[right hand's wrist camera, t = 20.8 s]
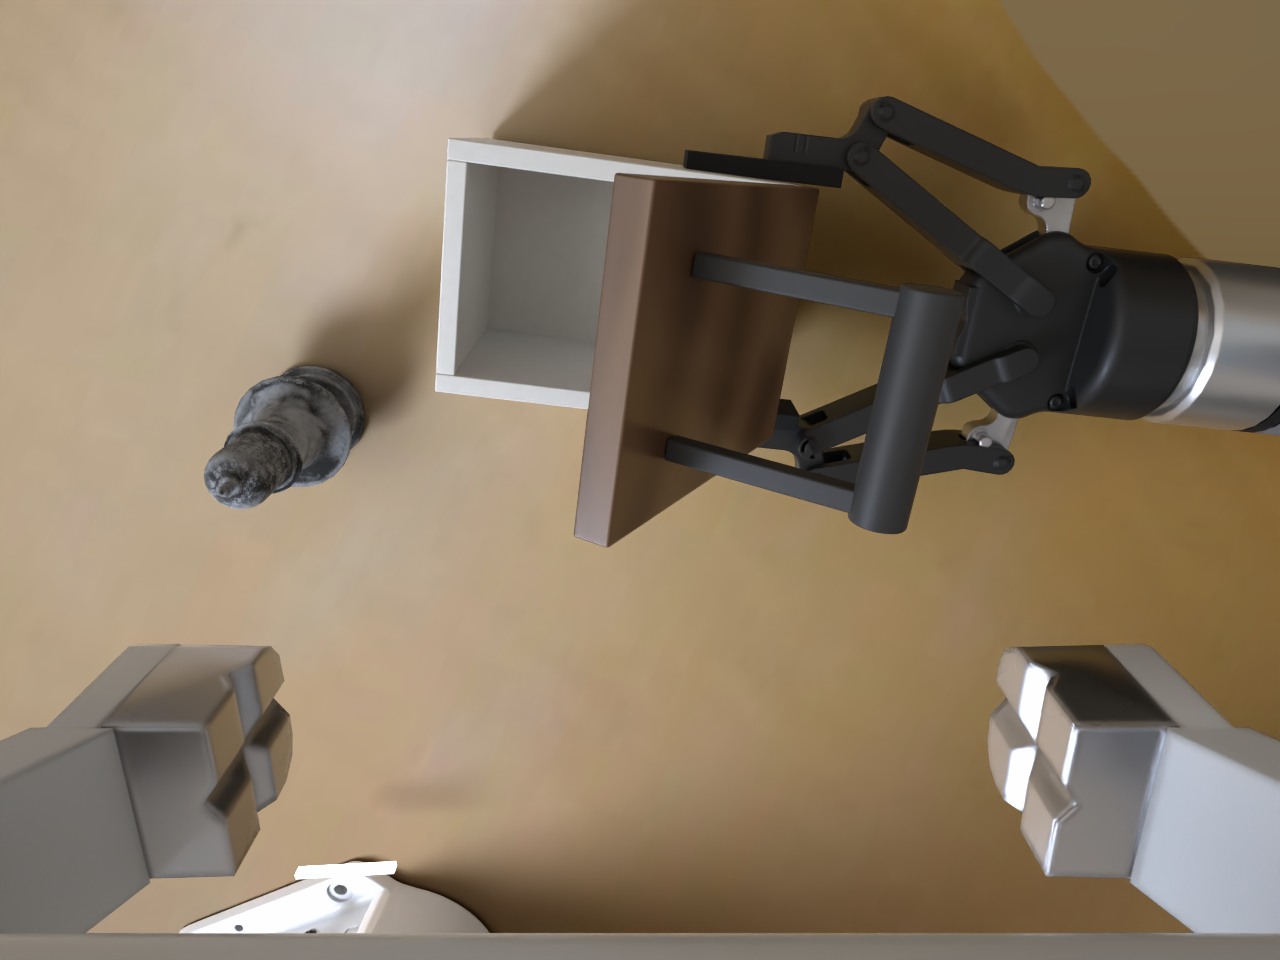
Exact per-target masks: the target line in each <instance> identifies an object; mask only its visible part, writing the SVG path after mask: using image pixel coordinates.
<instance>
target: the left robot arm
mask: <svg viewBox="0 0 1280 960" xmlns="http://www.w3.org/2000/svg"><path fill="white" fill-rule="evenodd" d="M886 137H887V138H890V139H892V140H894V141H896V142H898V143H900V144H903V145H905V146H907V147H909V148H911V149H913V150H915V151H918V152H920V153H922V154H924V155H926V156H928V157H931V158H933V159H935V160H937V161H939V162H941V163H943V164H946V165H948V166H950V167H952V168H954V169H956V170H959V171H961V172H963V173H965V174H967V175H969V176H971V177H974V178H976V179H978V180H980V181H982V182H984V183H987V184H989V185H991V186H993V187H996V188H998V189H1001V190H1004V191H1008V192H1012V193H1018V194H1020V198H1019V205H1020V208H1021V210H1022V211H1023V212H1025V213H1027V214H1030V215H1032V216H1034V217H1035V218H1036V220H1037V222H1038V230H1037V231H1035V232H1033V233H1031V234H1029V235H1027V236H1025V237H1023V238H1022V239H1020V240H1018V241H1016V242H1014V243H1012V244H1011V245H1009V246H1007V247H1005V248H1003V249H1001V250H999V249H998V248H997V247H996V246H994V245H993V244H992V243H991V242H989V241H988V240H986V239H985V238H983V237H981V236H980V235H979V234H977V233H976V232H975V231H974V230H973V229H971V228H970V227H969V226H968V225H967V224H965V223H964V222H963V221H962V220H961V219H959V218H958V217H957V216H956V215H955V214H954V213H952V212H951V211H950V210H949V209H948V208H946V207H945V206H944V205H943V204H942V203H940V202H939V201H938V200H937V199H936V198H934V197H933V196H932V195H931V194H930V193H929V192H927V191H926V190H925V189H924V188H923V187H921V186H920V185H919V184H918V183H917V182H915V181H914V180H913V179H912V178H911V177H909V176H908V175H907V174H906V173H905V172H904V171H902V170H901V169H900V168H899V167H898V166H896V165H895V164H894V163H893V162H892V161H890V160H889V159H888V158H887V157H886V156H884V155H883V154H882V153H881V152H880V151H879V149H880V147H881V145H882V143H883V142H884V140H885V138H886ZM683 167H684V168H686V169H691V170H699V171H706V172H713V173H721V174H728V175H735V176H743V177H751V178H760V179H768V180H777V181H785V182H794V183H802V184H811V185H819V186H828V187H836V188H841V183H842V178H843V172H844V171H845V172H846V173H848V174H849V175H850V176H851V177H852V178H854V179H855V180H856V181H857V182H858V183H860V184H861V185H862V186H863V187H864V188H866V189H867V190H868V191H869V192H871V193H872V194H873V195H874V196H875V197H877V198H878V199H879V200H880V201H881V202H883V203H884V204H885V205H886V206H888V207H889V208H890V209H891V210H892V211H894V212H895V213H896V214H897V215H898V216H900V217H901V218H902V219H903V220H905V221H906V222H907V223H908V224H909V225H911V226H912V227H913V228H914V229H915V230H917V231H918V232H919V233H920V234H921V235H923V236H924V237H925V238H926V239H928V240H929V241H930V242H931V243H932V244H934V245H935V246H936V247H937V248H938V249H940V250H941V251H942V252H943V253H944V255H945V256H946V257H948V258H949V259H950V260H951V261H952V262H954V263H955V264H956V265H957V266H958V267H960V268H961V269H962V270H963V271H965V273H964V274H963V276H962V277H961V279H960V280H955V284H954V288H953V290H955V291H958V292H961V293H963V294H964V295H965V299H964V303H963V307H962V311H961V315H960V319H959V323H958V327H957V331H956V335H955V339H954V343H953V347H952V351H951V355H950V359H949V363H948V367H947V371H946V375H945V379H944V383H943V387H942V390H941V394H940V398H939V402H938V404H941V403H953V402H956V401H958V400H961V399H963V398H966V397H968V396H971V395H973V394H976V393H977V394H978V395H979V396H980V397H981V398H982V399H983V400H984V401H985V402H986V403H987V404H988V405H989V406H990V407H991V408H992V409H991V411H990V413H989V414H988V416H986V417H985V418H984V419H981V420H973V421H970V422H967V423H966V424H964V426H963V429H962V430H938V431H931V434H930V438H929V442H928V446H927V450H926V454H925V458H924V462H923V466H922V470H921V474H920V476H922V475H928V474H934V473H940V472H946V471H952V470H959V469H968V470H974V471H980V472H986V473H992V474H1005V473H1007V472H1009V471H1010V470H1011V469H1012V467H1013V465H1014V457H1013V455H1012V454H1011V453H1010V452H1009V451H1008V448H1009V445H1010V442H1011V439H1012V436H1013V433H1014V430H1015V427H1016V424H1017V421H1018V418H1023V417H1026V416H1028V415H1031V414H1034V413H1038V412H1044V411H1048V412H1058V413H1067V414H1076V415H1085V416H1095V417H1104V418H1113V419H1123V420H1135V419H1140V418H1142V419H1143V420H1145V421H1147V422H1152V423H1160V424H1170V425H1180V426H1190V427H1201V428H1211V429H1221V430H1232V431H1242V432H1253V433H1254V432H1255V433H1263V434H1270V435H1278V436H1280V268H1276V267H1268V266H1259V265H1251V264H1242V263H1234V262H1225V261H1217V260H1209V259H1200V258H1181V259H1178V260H1177V259H1175V258H1174V257H1172V256H1169V255H1165V254H1156V253H1148V252H1139V251H1131V250H1122V249H1114V248H1105V247H1096V246H1088V245H1084V244H1082V243H1080V242H1079V241H1077V240H1076V239H1075V238H1074V237H1073V236H1071V235H1070V234H1069V229H1070V224H1071V219H1072V214H1073V209H1074V205H1075V200H1076V198H1079V197H1081V196H1083V195H1084V194H1085V193H1086V192H1087V191H1088V190H1089V187H1090V185H1091V178H1090V175H1089V173H1088V172H1087V171H1085V170H1084V169H1080V168H1067V167H1053V166H1038V165H1036V164H1033V163H1031V162H1029V161H1027V160H1025V159H1023V158H1021V157H1019V156H1016V155H1014V154H1012V153H1010V152H1008V151H1006V150H1004V149H1002V148H999V147H997V146H995V145H993V144H991V143H989V142H987V141H985V140H983V139H980V138H978V137H976V136H974V135H972V134H970V133H968V132H966V131H963V130H961V129H959V128H957V127H955V126H953V125H951V124H949V123H946V122H944V121H942V120H940V119H938V118H936V117H934V116H932V115H930V114H927V113H925V112H923V111H921V110H919V109H917V108H915V107H913V106H910V105H908V104H906V103H904V102H902V101H900V100H898V99H896V98H893V97H889V96H886V97H880V98H874V99H869V100H867V101H866V102H864V103H863V104H862V106H861V107H860V109H859V113H858V117H857V119H856V121H855V122H854V124H853V126H852V128H851V129H850V131H849V132H848V133H847V134H846V135H844V136H843V137H840V138H830V137H822V136H813V135H805V134H797V133H788V132H778V133H774V134H771V135H767V137H766V144H765V150H764V157H763V159H759V158H750V157H742V156H733V155H725V154H717V153H708V152H700V151H691V150H685V156H684V164H683ZM877 385H878V384H875V385H873V386H870V387H868V388H866V389H863V390H861V391H858V392H856V393H853V394H851V395H849V396H846V397H844V398H841V399H839V400H836V401H834V402H832V403H829V404H827V405H824V406H822V407H819V408H817V409H815V410H812V411H810V412H807V413H805V414H803V415H800V416H799V414H798V412H797V410H796V409H795V407H794V405H793V403H792V402H791V400H786V399H780V400H779V406H778V411H777V416H776V422H775V427H774V432H773V437H772V438H771V439H769V440H768V441H766V442H765V443H763V444H762V445H760V446H759V448H769V449H779V450H786V451H789V452H791V453H793V454H794V459H795V467H796V468H799V469H803V470H807V471H810V472H814V473H818V474H821V475H825V476H829V477H832V478H836V479H840V480H843V481H847V482H851V483H854V484H855V482H856V477H857V473H858V468H859V464H860V460H861V455H862V451H863V446H864V443H859V444H853V445H847V446H841V447H835V448H831V447H834V446H836V445H839V444H841V443H844V442H846V441H849V440H851V439H854V438H856V437H859V436H861V435H863V434H866V433H867V429H868V424H869V420H870V416H871V411H872V407H873V402H874V398H875V394H876V389H877Z"/></svg>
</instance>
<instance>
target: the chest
mask: <svg viewBox="0 0 1280 960" xmlns="http://www.w3.org/2000/svg"><path fill="white" fill-rule="evenodd" d="M447 159H448V160H447V171H446V191H445V210H444V229H443V248H442V267H441V287H440V306H439V325H438V344H437V363H436V373H437V374H436V382H435V391H437V392H446V393H454V394H462V395H471V396H479V397H488V398H496V399H505V400H513V401H522V402H530V403H538V404H547V405H555V406H564V407H572V408H581V409H588V405H589V396H590V387H591V379H592V370H593V361H594V352H595V343H596V334H597V326H598V317H599V308H600V299H601V290H602V282H603V273H604V264H605V255H606V246H607V238H608V229H609V220H610V211H611V202H612V194H613V185H614V176H615V174H616V173H629V174H643V175H657V176H671V177H685V178H700V179H714V180H728V181H742V182H756V183H770V184H784V185H795V184H791V183H787V182H783V181H777V180H768V179H760V178H751V177H743V176H735V175H728V174H721V173H713V172H706V171H699V170H691V169H686V168H684V167H683V165H679V164H671V163H664V162H657V161H650V160H642V159H635V158H628V157H620V156H613V155H606V154H598V153H591V152H584V151H577V150H569V149H562V148H555V147H547V146H540V145H533V144H525V143H518V142H511V141H504V140H496V139H489V138H449V139H448V152H447ZM795 186H799V185H795Z"/></svg>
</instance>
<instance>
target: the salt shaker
mask: <svg viewBox="0 0 1280 960" xmlns="http://www.w3.org/2000/svg"><path fill="white" fill-rule="evenodd" d="M364 422H365V416H364V407H363V404H362V402H361V399H360V397H359V395H358V393H357V392H356V390H355V389H354V388H353V386H352V385H351V384H350V383H349V382H348V381H347V380H346V379H344V378H343V377H342V376H341V375H339V374H337V373H335V372H333V371H331V370H330V369H326V368H322V367H318V366H301V367H298V368H294V369H291V370H289V371H288V372H286V373H284V374H283V375H281V376H277V377H273V378H270V379H266V380H263V381H261V382H260V383H258V384H256V385H255V386H253V387H252V388H250V389H249V390H248V391H247V393H246V394H245V395H244V396H243V397H242V398H241V400H240V402H239V405H238V407H237V409H236V412H235V419H234V430H233V431H232V432H231V433H230V434H229V435H228V437H227V440H226V442H225V444H224V448H222V449H221V450H220V451H218V452H217V453H216V454H214V455H213V456H212V458H211V459H210V460H209V461H208V463H207V466H206V468H205V472H204V479H205V484H206V487H207V489H208V491H209V492H210V493H211V495H212V496H213V497H214V498H215V499H216V500H217V501H219V502H220V503H221V504H223V505H226V506H228V507H230V508H235V509H247V508H251V507H255V506H257V505H259V504H260V503H262V502H263V501H264V500H265V499H266V498H267V497H269V496H270V495H271V494H272V493H277V492H281V491H284V490H286V489H287V488H289V487H309V486H313V485H317V484H320V483H323V482H324V481H326V480H328V479H330V478H331V477H333V476H334V475H335V474H336V473H337V472H338V471H339V470H340V469H341V468H342V466H343V465H344V463H345V461H346V459H347V457H348V455H349V453H350V449H351V448H352V447H353V446H354V445H355V444H356V443H357V442H358V440H359V438H360V436H361V434H362V432H363V428H364Z"/></svg>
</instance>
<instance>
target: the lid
mask: <svg viewBox="0 0 1280 960" xmlns="http://www.w3.org/2000/svg"><path fill="white" fill-rule="evenodd" d="M818 194H819V190H818V189H815V188H809V187H802V186H795V185H784V184H770V183H756V182H742V181H728V180H714V179H700V178H685V177H671V176H657V175H643V174H629V173H616V174H615V176H614V185H613V194H612V202H611V211H610V220H609V229H608V238H607V246H606V255H605V264H604V273H603V282H602V290H601V299H600V308H599V317H598V326H597V334H596V343H595V352H594V361H593V370H592V379H591V387H590V396H589V405H588V414H587V423H586V431H585V440H584V449H583V458H582V467H581V475H580V484H579V493H578V502H577V511H576V519H575V528H574V536H575V537H577V538H580V539H583V540H586V541H589V542H592V543H595V544H598V545H601V546H604V547H610V546H611V545H613V544H614V543H616V542H617V541H619V540H620V539H622V538H623V537H625V536H626V535H628V534H629V533H631V532H632V531H634V530H635V529H637V528H638V527H640V526H641V525H643V524H644V523H645V522H647V521H648V520H650V519H651V518H653V517H654V516H656V515H657V514H659V513H660V512H662V511H663V510H665V509H666V508H668V507H669V506H671V505H672V504H674V503H675V502H677V501H678V500H680V499H681V498H683V497H684V496H686V495H687V494H689V493H690V492H692V491H693V490H695V489H696V488H698V487H699V486H701V485H702V484H704V483H705V482H707V481H708V480H710V479H711V478H712V477H714V476H715V475H718V476H722V477H725V478H729V479H732V480H736V481H739V482H743V483H746V484H750V485H753V486H757V487H760V488H764V489H767V490H771V491H774V492H778V493H781V494H784V495H788V496H791V497H795V498H798V499H802V500H805V501H809V502H812V503H816V504H819V505H823V506H826V507H830V508H833V509H837V510H840V511H844V512H847V513H848V517H849V519H850V521H851V522H853V523H854V524H856V525H857V526H859V527H861V528H864V529H866V530H869V531H873V532H877V533H883V534H899V533H902V532H904V531H905V530H906V528H907V525H908V521H909V517H910V513H911V509H912V505H913V501H914V497H915V493H916V489H917V485H918V481H919V478H920V474H921V470H922V466H923V462H924V458H925V454H926V450H927V446H928V442H929V438H930V434H931V430H932V426H933V422H934V418H935V414H936V410H937V406H938V402H939V398H940V394H941V390H942V387H943V383H944V379H945V375H946V371H947V367H948V363H949V359H950V355H951V351H952V347H953V343H954V339H955V335H956V331H957V327H958V323H959V319H960V315H961V311H962V307H963V303H964V299H965V295H964V294H963V293H961V292H958V291H955V290H951V289H947V288H942V287H937V286H931V285H924V284H914V283H904V284H901V285H900V288H898V287H893V286H888V285H882V284H877V283H871V282H866V281H861V280H855V279H850V278H844V277H839V276H833V275H828V274H823V273H817V272H812V271H806V270H804V268H805V263H806V258H807V252H808V247H809V242H810V237H811V231H812V226H813V221H814V215H815V210H816V205H817V200H818ZM799 299H803V300H809V301H814V302H819V303H824V304H829V305H834V306H839V307H844V308H849V309H854V310H859V311H864V312H869V313H874V314H879V315H884V316H889V317H893V319H892V323H891V327H890V332H889V336H888V341H887V345H886V349H885V354H884V358H883V363H882V367H881V371H880V376H879V380H878V385H877V389H876V394H875V398H874V402H873V407H872V411H871V416H870V420H869V424H868V429H867V433H866V438H865V442H864V446H863V451H862V455H861V460H860V464H859V468H858V473H857V477H856V482H855V484H854V483H851V482H847V481H843V480H840V479H836V478H832V477H829V476H825V475H821V474H818V473H814V472H810V471H807V470H803V469H799V468H796V467H792V466H788V465H785V464H781V463H777V462H774V461H770V460H766V459H763V458H759V457H755V456H752V455H748V453H750V452H751V451H753V450H754V449H756V448H757V447H759V446H760V445H762V444H763V443H765V442H766V441H768V440H769V439H771V438H772V437H773V432H774V427H775V422H776V416H777V411H778V406H779V400H780V395H781V390H782V385H783V379H784V374H785V369H786V363H787V358H788V353H789V348H790V342H791V337H792V332H793V326H794V321H795V316H796V311H797V305H798V300H799Z"/></svg>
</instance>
